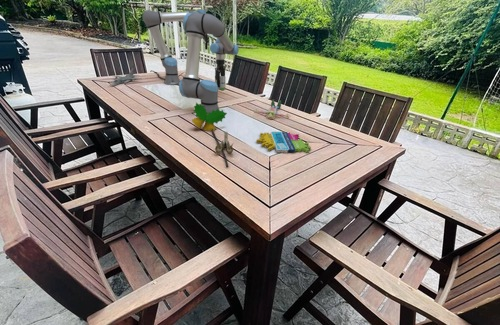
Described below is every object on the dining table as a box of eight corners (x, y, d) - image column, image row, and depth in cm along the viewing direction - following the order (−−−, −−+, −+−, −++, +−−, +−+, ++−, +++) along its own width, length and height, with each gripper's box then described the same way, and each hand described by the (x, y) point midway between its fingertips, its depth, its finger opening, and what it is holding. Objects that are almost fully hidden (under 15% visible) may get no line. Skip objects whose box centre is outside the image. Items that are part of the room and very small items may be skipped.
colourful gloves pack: (313, 150, 142) (258, 149, 139) (312, 153, 143) (258, 152, 140) (301, 132, 164) (254, 130, 161) (301, 134, 165) (254, 133, 162)
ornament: (218, 133, 171) (224, 110, 169) (221, 134, 163) (227, 111, 161) (186, 125, 162) (192, 101, 160) (189, 126, 155) (195, 101, 153)
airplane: (106, 78, 261) (104, 68, 256) (139, 76, 275) (138, 66, 269) (108, 88, 233) (105, 77, 228) (145, 86, 246) (143, 75, 241)
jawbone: (234, 135, 144) (233, 125, 135) (233, 160, 138) (232, 151, 129) (217, 135, 144) (216, 125, 135) (216, 160, 138) (214, 150, 129)
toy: (294, 101, 206) (290, 112, 180) (293, 110, 209) (289, 122, 183) (259, 97, 210) (251, 107, 185) (259, 106, 214) (250, 116, 188)
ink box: (225, 89, 236) (225, 76, 231) (222, 91, 233) (222, 77, 227) (217, 88, 240) (217, 75, 234) (214, 89, 236) (214, 75, 230)
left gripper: (197, 27, 250) (197, 51, 261) (212, 27, 270) (212, 49, 280) (190, 26, 253) (191, 50, 263) (206, 26, 273) (206, 48, 283)
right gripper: (222, 57, 232) (222, 84, 243) (210, 59, 218) (210, 87, 229) (229, 58, 229) (228, 85, 240) (218, 60, 215) (218, 89, 226)
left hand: (202, 50), depth 272 cm, fingers open, 13 cm apart
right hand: (220, 86), depth 235 cm, fingers closed on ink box, 5 cm apart
